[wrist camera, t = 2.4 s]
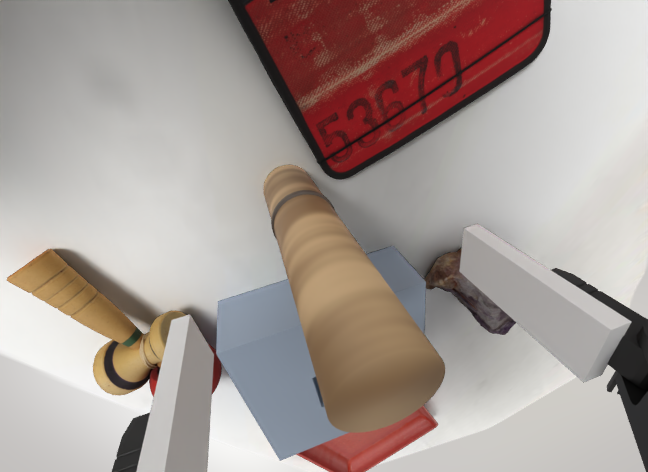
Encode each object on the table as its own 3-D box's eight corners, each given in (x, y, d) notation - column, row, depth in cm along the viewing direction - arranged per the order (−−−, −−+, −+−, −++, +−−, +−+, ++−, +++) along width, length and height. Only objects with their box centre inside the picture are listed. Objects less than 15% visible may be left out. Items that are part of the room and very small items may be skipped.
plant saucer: (393, 361, 42) (405, 383, 39) (429, 407, 52) (440, 426, 49) (287, 428, 42) (291, 453, 40) (342, 460, 53) (349, 482, 50)
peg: (255, 171, 23) (311, 380, 8) (307, 157, 23) (452, 328, 8) (270, 218, 25) (334, 449, 10) (317, 204, 26) (444, 404, 11)
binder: (200, -47, 15) (564, -300, 14) (201, -36, 17) (523, -259, 16) (336, 193, 24) (558, 50, 24) (327, 183, 26) (532, 49, 25)
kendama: (6, 279, 23) (177, 394, 31) (-60, 323, 17) (170, 450, 25) (92, 218, 24) (237, 345, 32) (56, 241, 18) (244, 389, 26)
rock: (445, 302, 40) (507, 251, 37) (495, 358, 33) (572, 301, 31) (406, 271, 32) (481, 205, 30) (462, 337, 26) (561, 259, 24)
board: (217, 301, 28) (216, 353, 23) (393, 245, 30) (425, 281, 25) (273, 409, 39) (280, 460, 34) (398, 361, 41) (422, 402, 36)
